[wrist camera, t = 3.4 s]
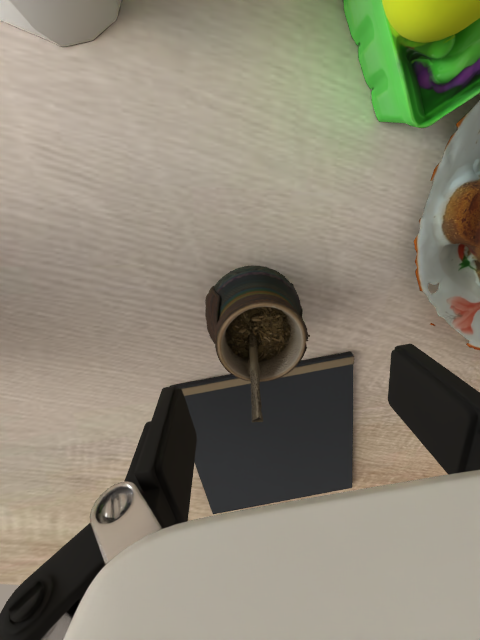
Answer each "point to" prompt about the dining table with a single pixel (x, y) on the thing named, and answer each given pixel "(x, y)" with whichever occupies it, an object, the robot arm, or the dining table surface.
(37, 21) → the crystal
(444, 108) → the fruit basket
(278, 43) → the dining table surface
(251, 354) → the mate gourd
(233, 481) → the mat
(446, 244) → the food on plate
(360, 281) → the dining table surface
